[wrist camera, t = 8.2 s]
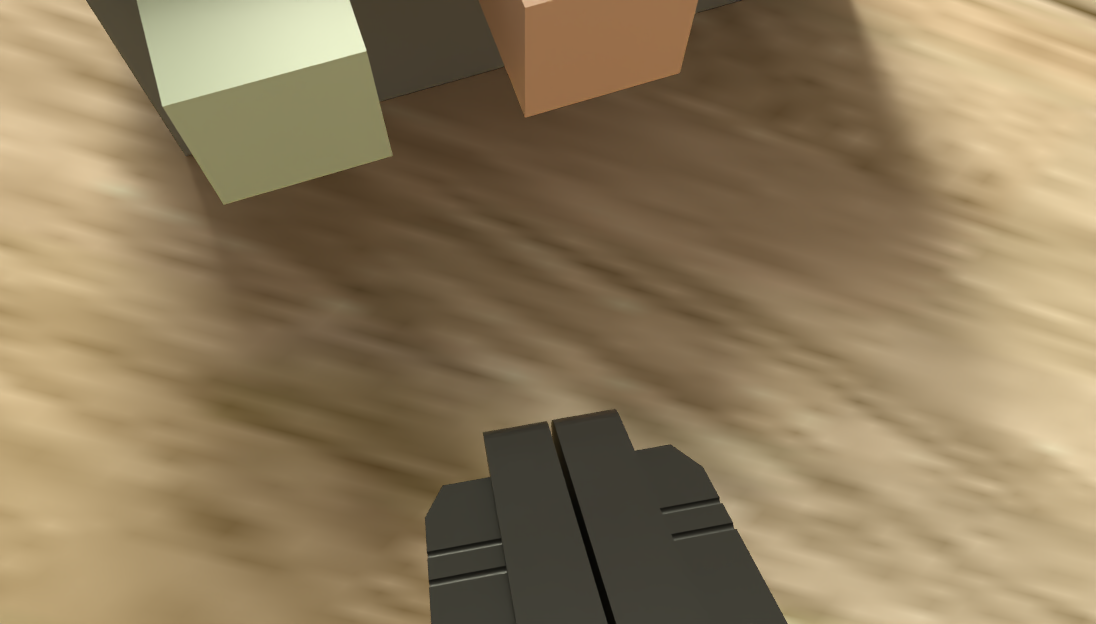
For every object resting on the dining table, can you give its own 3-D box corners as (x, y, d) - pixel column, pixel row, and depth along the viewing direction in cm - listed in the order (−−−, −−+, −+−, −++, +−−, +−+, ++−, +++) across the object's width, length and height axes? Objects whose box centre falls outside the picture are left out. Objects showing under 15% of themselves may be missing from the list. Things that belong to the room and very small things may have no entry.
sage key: (223, 204, 24) (162, 106, 20) (160, -38, 27) (95, -168, 23) (392, 155, 25) (366, 50, 21) (315, -76, 28) (278, -210, 23)
